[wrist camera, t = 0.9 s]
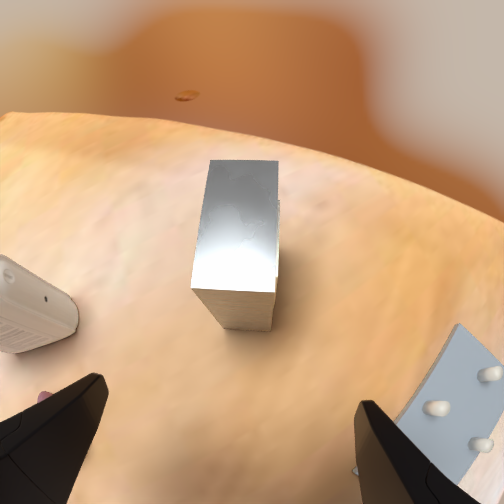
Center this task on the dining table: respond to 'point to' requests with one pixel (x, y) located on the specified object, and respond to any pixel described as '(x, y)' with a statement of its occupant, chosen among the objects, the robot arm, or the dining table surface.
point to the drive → (239, 244)
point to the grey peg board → (456, 405)
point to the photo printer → (31, 310)
